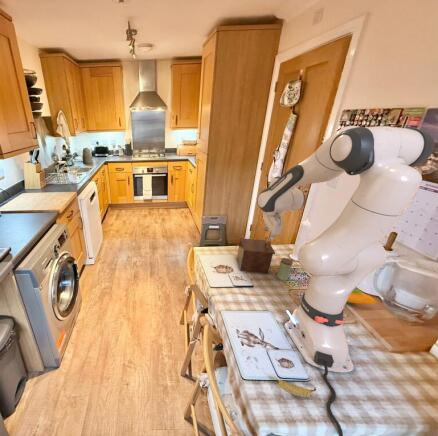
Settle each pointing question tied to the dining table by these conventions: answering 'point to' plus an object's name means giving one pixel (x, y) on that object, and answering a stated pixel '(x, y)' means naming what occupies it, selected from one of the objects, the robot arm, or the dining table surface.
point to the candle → (301, 238)
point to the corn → (360, 298)
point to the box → (253, 261)
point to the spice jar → (284, 269)
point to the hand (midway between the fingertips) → (268, 234)
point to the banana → (295, 389)
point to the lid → (257, 246)
